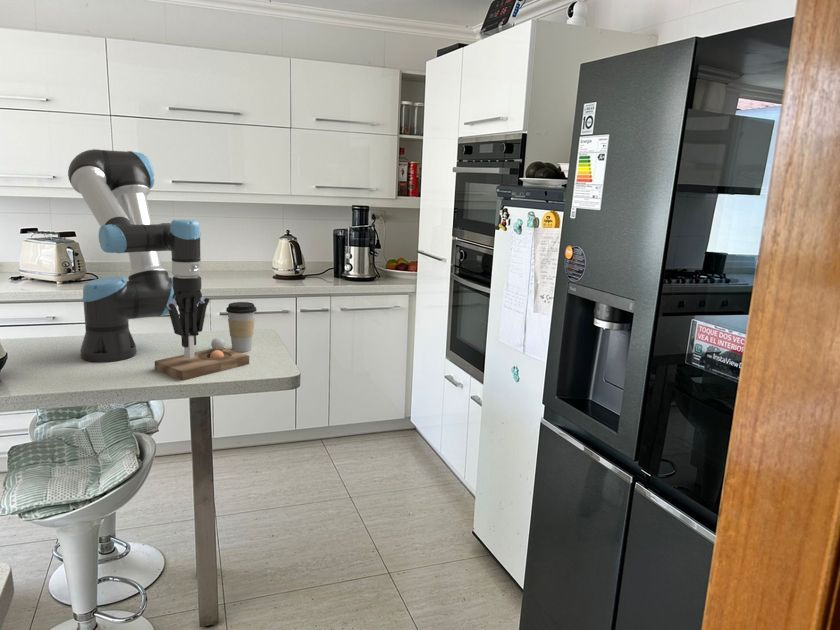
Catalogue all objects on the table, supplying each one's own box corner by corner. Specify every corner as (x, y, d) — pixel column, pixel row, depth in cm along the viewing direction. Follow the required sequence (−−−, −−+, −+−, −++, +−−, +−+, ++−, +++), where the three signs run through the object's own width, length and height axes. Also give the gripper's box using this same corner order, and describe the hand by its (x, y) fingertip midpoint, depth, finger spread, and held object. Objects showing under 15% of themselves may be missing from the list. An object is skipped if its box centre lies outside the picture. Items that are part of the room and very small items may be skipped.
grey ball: (208, 350, 187) (208, 337, 186) (220, 347, 190) (219, 335, 189) (216, 352, 184) (216, 340, 184) (227, 350, 188) (227, 337, 187)
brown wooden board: (154, 369, 175) (154, 360, 174) (220, 354, 192) (220, 346, 191) (182, 380, 166) (182, 371, 166) (249, 363, 184) (249, 355, 183)
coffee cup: (226, 354, 192) (225, 307, 189) (227, 346, 201) (226, 301, 198) (257, 353, 195) (256, 307, 192) (256, 345, 204) (256, 301, 201)
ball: (207, 363, 182) (206, 351, 181) (218, 359, 185) (217, 347, 184) (216, 366, 180) (215, 353, 179) (227, 362, 183) (226, 350, 182)
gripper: (173, 280, 163) (177, 364, 168) (215, 275, 173) (216, 355, 178) (157, 276, 167) (161, 359, 172) (198, 272, 177) (200, 350, 183)
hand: (189, 357), depth 175 cm, fingers closed
